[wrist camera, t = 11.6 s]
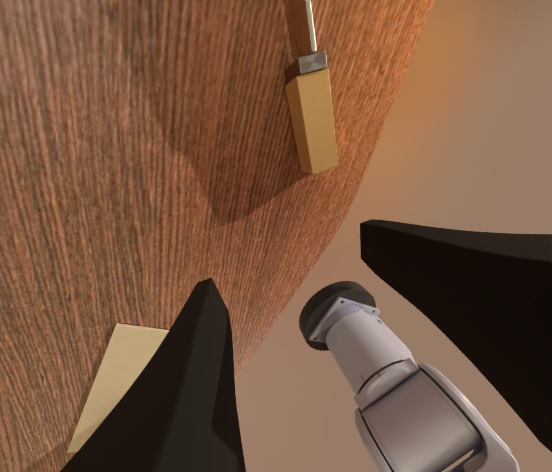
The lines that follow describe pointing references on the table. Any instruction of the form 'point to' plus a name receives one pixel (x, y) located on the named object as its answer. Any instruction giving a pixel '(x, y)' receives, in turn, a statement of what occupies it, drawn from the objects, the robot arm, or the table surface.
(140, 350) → the cake board
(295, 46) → the knife
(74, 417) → the table surface
